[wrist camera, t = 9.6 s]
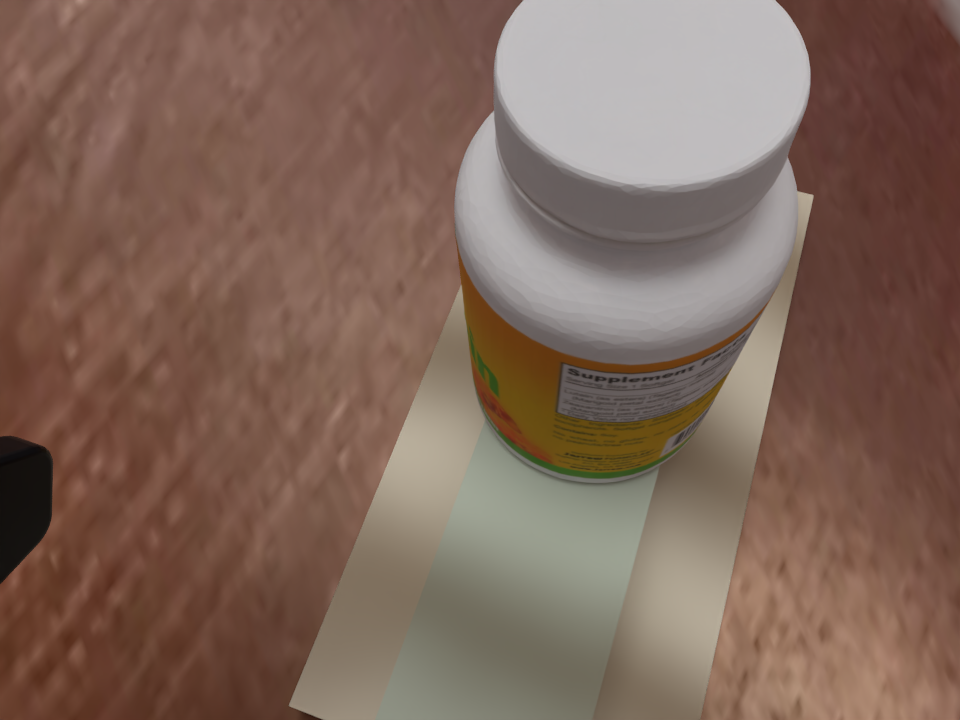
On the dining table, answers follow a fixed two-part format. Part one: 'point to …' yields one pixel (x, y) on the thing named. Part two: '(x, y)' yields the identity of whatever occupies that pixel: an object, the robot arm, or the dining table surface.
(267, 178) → the dining table surface
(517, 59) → the supplement bottle
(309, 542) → the dining table surface
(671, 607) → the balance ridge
